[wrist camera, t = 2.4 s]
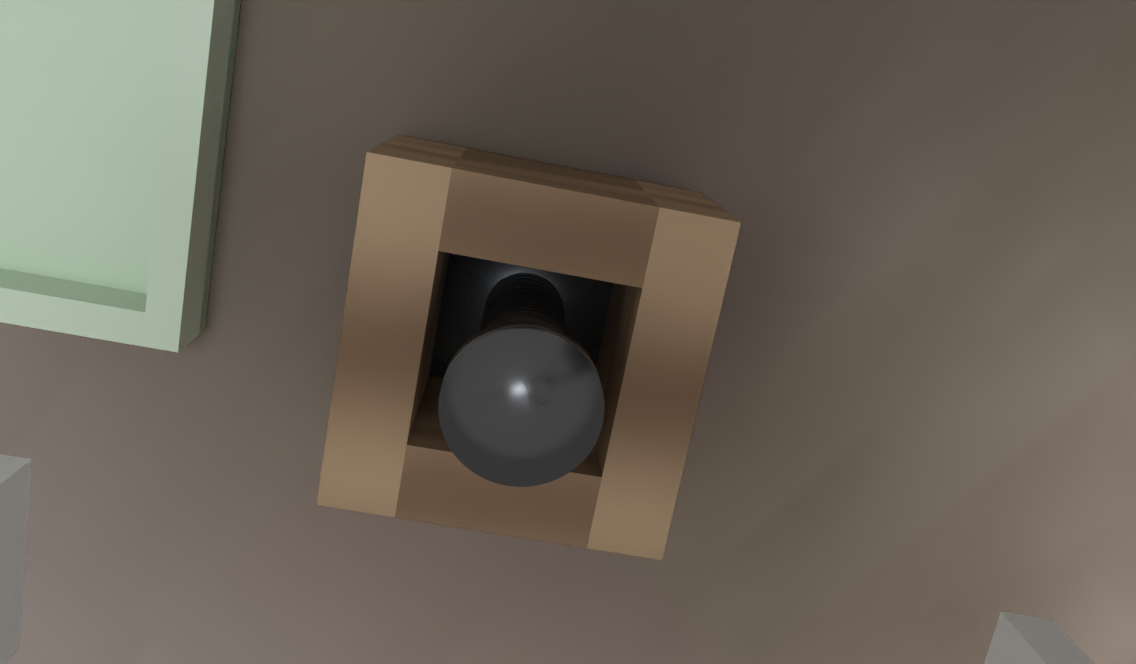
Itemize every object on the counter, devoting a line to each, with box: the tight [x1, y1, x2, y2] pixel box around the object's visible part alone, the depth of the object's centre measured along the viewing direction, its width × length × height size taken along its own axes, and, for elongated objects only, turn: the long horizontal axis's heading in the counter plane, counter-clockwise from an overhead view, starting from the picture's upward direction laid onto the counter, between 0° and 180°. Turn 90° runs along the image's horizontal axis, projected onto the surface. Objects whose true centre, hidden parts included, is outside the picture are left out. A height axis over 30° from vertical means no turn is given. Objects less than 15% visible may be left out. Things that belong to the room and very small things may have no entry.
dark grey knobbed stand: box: [429, 253, 614, 487], centre depth 27 cm, size 8×8×10 cm
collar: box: [316, 135, 741, 560], centre depth 28 cm, size 9×9×6 cm
